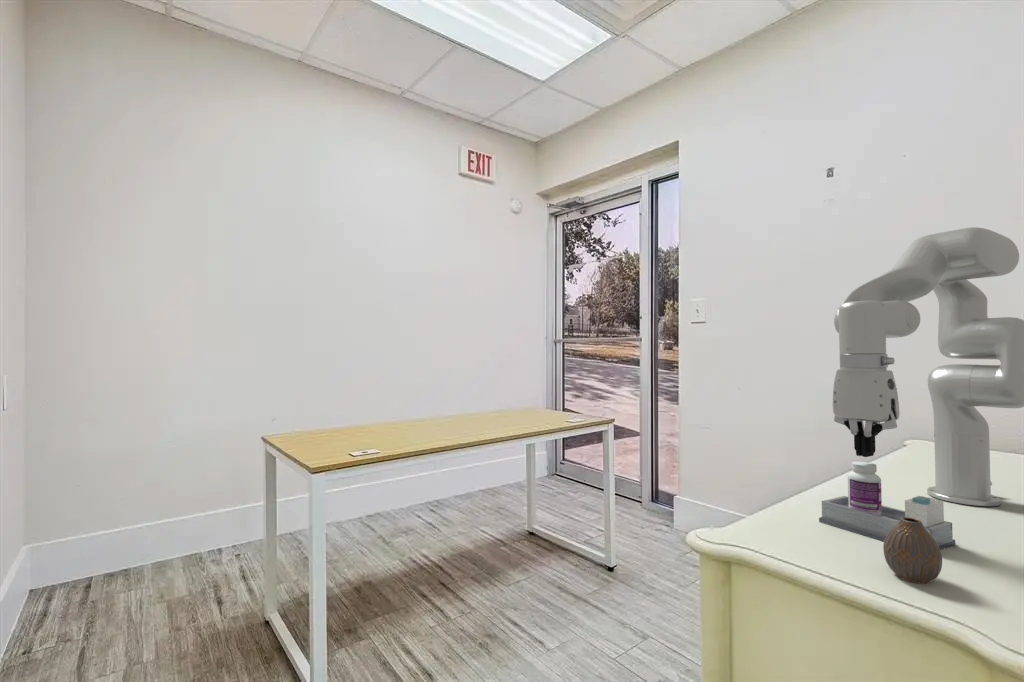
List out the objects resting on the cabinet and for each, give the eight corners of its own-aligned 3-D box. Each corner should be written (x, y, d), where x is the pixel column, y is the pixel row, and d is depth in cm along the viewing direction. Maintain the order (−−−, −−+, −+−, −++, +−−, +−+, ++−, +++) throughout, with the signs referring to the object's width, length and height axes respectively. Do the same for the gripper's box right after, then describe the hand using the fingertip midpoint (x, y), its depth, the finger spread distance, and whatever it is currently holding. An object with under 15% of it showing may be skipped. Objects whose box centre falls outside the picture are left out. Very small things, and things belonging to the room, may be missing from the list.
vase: (872, 568, 76) (871, 512, 76) (912, 566, 77) (911, 511, 77) (912, 589, 69) (911, 528, 69) (956, 587, 70) (954, 527, 70)
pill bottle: (888, 518, 91) (887, 467, 91) (856, 516, 92) (855, 465, 92) (872, 509, 96) (871, 461, 97) (843, 507, 97) (842, 459, 98)
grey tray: (847, 514, 102) (846, 474, 102) (955, 544, 86) (954, 497, 86) (819, 521, 97) (818, 480, 97) (927, 554, 81) (926, 505, 81)
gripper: (917, 363, 90) (920, 461, 90) (834, 362, 103) (836, 447, 103) (896, 364, 87) (899, 465, 86) (813, 362, 100) (815, 450, 100)
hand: (865, 455), depth 95 cm, fingers closed
